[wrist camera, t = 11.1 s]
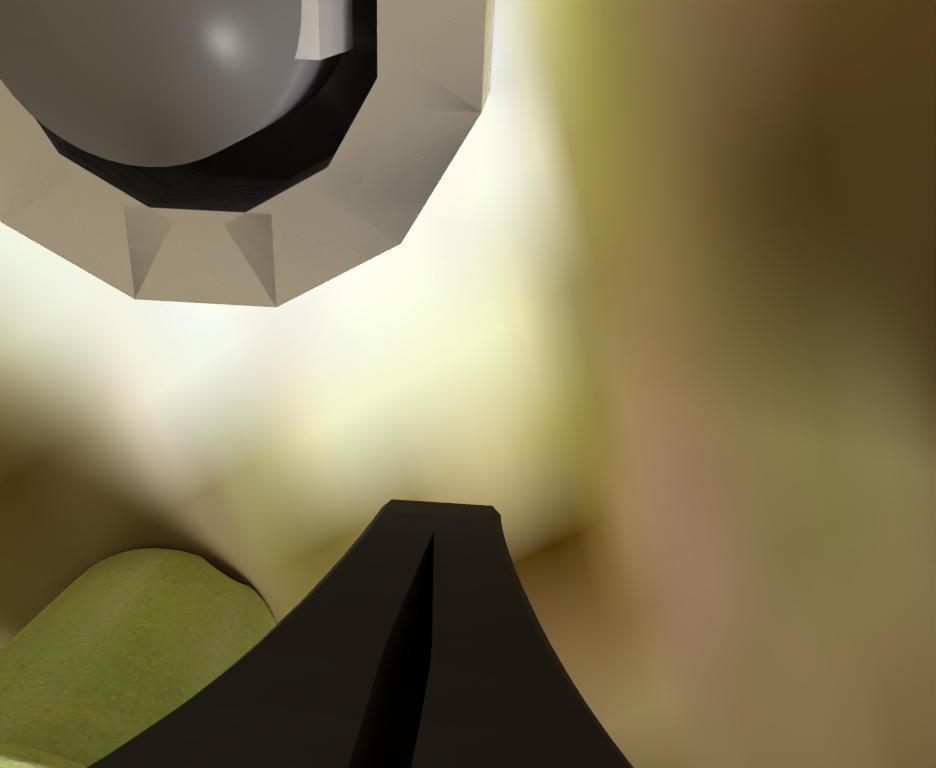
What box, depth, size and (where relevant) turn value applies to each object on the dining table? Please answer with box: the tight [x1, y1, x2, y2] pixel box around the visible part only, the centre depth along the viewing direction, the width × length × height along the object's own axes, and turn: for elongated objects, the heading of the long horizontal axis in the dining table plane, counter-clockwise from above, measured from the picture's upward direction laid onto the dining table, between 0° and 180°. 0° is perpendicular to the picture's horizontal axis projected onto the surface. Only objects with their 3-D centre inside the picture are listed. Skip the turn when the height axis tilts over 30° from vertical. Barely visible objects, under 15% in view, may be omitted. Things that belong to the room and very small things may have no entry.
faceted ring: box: [0, 0, 494, 307], centre depth 16 cm, size 10×10×4 cm
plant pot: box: [0, 548, 277, 768], centre depth 20 cm, size 9×9×9 cm
